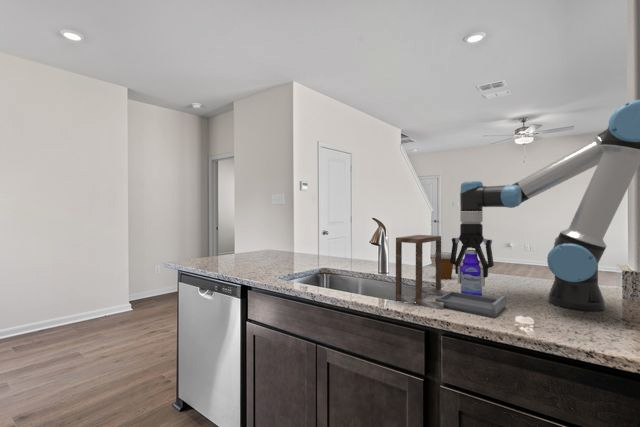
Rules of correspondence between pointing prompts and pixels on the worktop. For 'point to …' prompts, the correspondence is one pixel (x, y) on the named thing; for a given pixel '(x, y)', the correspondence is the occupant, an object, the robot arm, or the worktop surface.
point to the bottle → (471, 274)
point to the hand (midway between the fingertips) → (471, 284)
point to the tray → (473, 304)
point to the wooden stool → (419, 271)
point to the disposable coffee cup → (445, 265)
